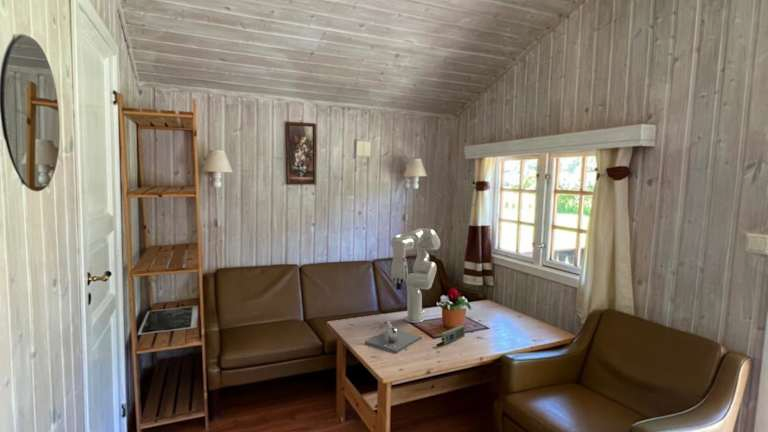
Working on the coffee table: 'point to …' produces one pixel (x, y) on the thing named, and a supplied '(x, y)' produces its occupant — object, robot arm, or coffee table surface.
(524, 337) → the coffee table surface
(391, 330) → the bar with ball ends
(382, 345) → the stand plate
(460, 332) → the handheld radio
